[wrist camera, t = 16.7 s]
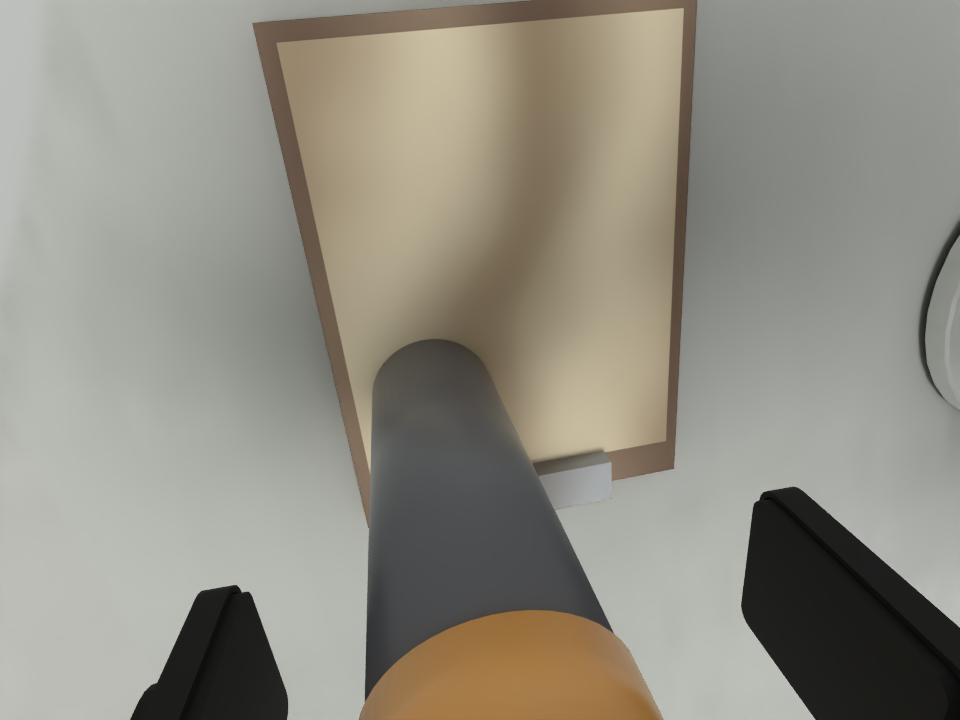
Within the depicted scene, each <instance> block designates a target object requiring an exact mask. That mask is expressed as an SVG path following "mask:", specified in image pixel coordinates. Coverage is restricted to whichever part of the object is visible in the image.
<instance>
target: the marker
mask: <svg viewBox="0 0 960 720" xmlns="http://www.w3.org/2000/svg"><path fill="white" fill-rule="evenodd" d="M359 720H664V719H663V717H662V715H661V713H660V711H659V709H658V707H657V705H656V703H655V701H654V699H653V697H652V695H651V693H650V691H649V689H648V687H647V685H646V683H645V681H644V679H643V677H642V675H641V673H640V671H639V669H638V667H637V665H636V663H635V661H634V659H633V657H632V655H631V653H630V651H629V649H628V648H627V647H626V646H625V644H624V643H623V642H622V641H621V640H620V639H619V638H618V637H617V636H616V635H615V634H614V633H613V631H612V629H611V626H610V624H609V622H608V620H607V618H606V616H605V614H604V612H603V610H602V608H601V606H600V604H599V601H598V599H597V597H596V595H595V593H594V591H593V589H592V587H591V585H590V583H589V581H588V579H587V577H586V574H585V572H584V570H583V568H582V566H581V564H580V562H579V560H578V558H577V556H576V554H575V552H574V550H573V547H572V545H571V543H570V541H569V539H568V537H567V535H566V533H565V531H564V529H563V527H562V525H561V522H560V520H559V518H558V516H557V514H556V512H555V510H554V508H553V506H552V504H551V502H550V500H549V498H548V495H547V493H546V491H545V489H544V487H543V485H542V483H541V481H540V479H539V477H538V475H537V473H536V471H535V468H534V466H533V464H532V462H531V460H530V458H529V456H528V454H527V452H526V450H525V448H524V446H523V443H522V441H521V439H520V437H519V435H518V433H517V431H516V429H515V427H514V425H513V423H512V421H511V419H510V416H509V414H508V412H507V410H506V408H505V406H504V404H503V402H502V400H501V398H500V396H499V394H498V392H497V389H496V387H495V385H494V383H493V381H492V379H491V377H490V375H489V373H488V371H487V369H486V367H485V365H484V364H483V362H482V361H481V359H480V358H479V357H478V356H477V355H476V354H475V353H474V352H472V351H471V350H470V349H468V348H466V347H465V346H463V345H461V344H458V343H456V342H452V341H449V340H443V339H427V340H421V341H417V342H414V343H411V344H408V345H406V346H404V347H402V348H401V349H399V350H398V351H396V352H395V353H394V354H392V355H391V356H390V357H389V358H388V359H387V360H386V361H385V362H384V364H383V365H382V367H381V368H380V370H379V371H378V373H377V376H376V378H375V381H374V384H373V390H372V426H371V468H370V509H369V551H368V593H367V634H366V676H365V704H364V706H363V709H362V711H361V714H360V717H359Z"/></svg>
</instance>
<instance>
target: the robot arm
mask: <svg viewBox="0 0 960 720" xmlns="http://www.w3.org/2000/svg"><path fill="white" fill-rule="evenodd" d="M925 346H926V357H927V365H928V368H929V370H930V373H931V376H932V379H933V382H934V384H935V386H936V387H937V389H938V390H939V392H940V393H941V394H942V396H943V397H944V399H945V400H946V401H947V402H949V403H950V404H951V405H953V406H954V407H955V408H957V409H958V410H959V411H960V235H959V236H958V238H957V240H956V241H955V243H954V244H953V246H952V248H951V249H950V251H949V253H948V256H947V258H946V260H945V262H944V265H943V267H942V269H941V271H940V274H939V276H938V278H937V280H936V283H935V287H934V290H933V294H932V297H931V301H930V305H929V308H928V313H927V323H926V332H925ZM741 607H742V613H743V616H744V618H745V620H746V623H747V624H748V626H749V627H750V629H751V630H752V631H753V633H754V634H755V636H756V637H757V638H758V640H759V641H760V643H761V644H762V645H763V647H764V648H765V650H766V651H767V652H768V654H769V655H770V657H771V658H772V659H773V661H774V662H775V664H776V665H777V666H778V668H779V669H780V671H781V672H782V673H783V675H784V676H785V678H786V679H787V680H788V682H789V683H790V685H791V686H792V687H793V689H794V690H795V692H796V693H797V694H798V696H799V697H800V698H801V700H802V701H803V703H804V704H805V705H806V707H807V708H808V710H809V711H810V712H811V714H812V715H813V717H814V718H815V719H816V720H960V628H959V627H958V626H957V625H956V624H955V623H954V622H953V621H951V620H950V619H949V618H948V617H947V616H946V615H945V614H943V613H942V612H941V611H940V610H939V609H938V608H937V607H935V606H934V605H933V604H932V603H931V602H930V601H928V600H927V599H926V598H925V597H924V596H923V595H922V594H920V593H919V592H918V591H917V590H916V589H915V588H914V587H912V586H911V585H910V584H909V583H908V582H907V581H906V580H904V579H903V578H902V577H901V576H900V575H899V574H897V573H896V572H895V571H894V570H893V569H892V568H891V567H889V566H888V565H887V564H886V563H885V562H884V561H883V560H881V559H880V558H879V557H878V556H877V555H876V554H875V553H873V552H872V551H871V550H870V549H869V548H868V547H866V546H865V545H864V544H863V543H862V542H861V541H860V540H858V539H857V538H856V537H855V536H854V535H853V534H852V533H850V532H849V531H848V530H847V529H846V528H845V527H844V526H842V525H841V524H840V523H839V522H838V521H837V520H835V519H834V518H833V517H832V516H831V515H830V514H829V513H827V512H826V511H825V510H824V509H823V508H822V507H821V506H819V505H818V504H817V503H816V502H815V501H814V500H812V499H811V498H810V497H809V496H808V495H807V494H806V493H804V492H803V491H802V490H800V489H799V488H797V487H789V488H783V489H778V490H772V491H767V492H763V494H762V495H761V497H760V500H759V501H757V502H755V504H754V507H753V513H752V521H751V530H750V538H749V546H748V554H747V562H746V570H745V578H744V586H743V594H742V603H741ZM287 715H288V697H287V692H286V689H285V687H284V684H283V681H282V678H281V676H280V673H279V670H278V667H277V664H276V662H275V659H274V656H273V653H272V651H271V648H270V645H269V642H268V639H267V637H266V634H265V631H264V628H263V626H262V623H261V620H260V617H259V614H258V612H257V609H256V606H255V603H254V600H253V598H252V596H251V594H250V593H249V592H243V593H242V592H241V590H240V588H239V587H238V586H237V585H233V586H227V587H221V588H216V589H210V590H204V591H201V592H200V593H199V594H198V595H197V597H196V599H195V601H194V603H193V605H192V607H191V610H190V612H189V614H188V616H187V618H186V621H185V623H184V625H183V627H182V629H181V632H180V634H179V636H178V638H177V641H176V643H175V645H174V647H173V649H172V652H171V654H170V656H169V658H168V660H167V663H166V665H165V667H164V669H163V672H162V674H161V676H160V678H159V680H158V683H156V684H153V685H151V686H150V687H149V688H148V689H147V690H146V691H145V692H144V694H143V695H142V697H141V699H140V700H139V702H138V704H137V706H136V708H135V710H134V713H133V715H132V717H131V719H130V720H287Z"/></svg>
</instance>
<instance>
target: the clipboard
mask: <svg viewBox="0 0 960 720" xmlns="http://www.w3.org/2000/svg"><path fill="white" fill-rule="evenodd" d="M696 12H697V0H532V1H520V2H508V3H495V4H483V5H470V6H458V7H445V8H433V9H421V10H408V11H396V12H383V13H371V14H359V15H346V16H334V17H321V18H309V19H296V20H284V21H272V22H259V23H252V24H253V28H254V32H255V37H256V41H257V45H258V50H259V54H260V58H261V63H262V67H263V72H264V76H265V80H266V85H267V89H268V93H269V98H270V102H271V106H272V111H273V115H274V119H275V124H276V128H277V132H278V137H279V141H280V146H281V150H282V154H283V159H284V163H285V167H286V172H287V176H288V180H289V185H290V189H291V193H292V198H293V202H294V206H295V211H296V215H297V220H298V224H299V228H300V233H301V237H302V241H303V246H304V250H305V254H306V259H307V263H308V267H309V272H310V276H311V280H312V285H313V289H314V293H315V298H316V302H317V307H318V311H319V315H320V320H321V324H322V328H323V333H324V337H325V341H326V346H327V350H328V354H329V359H330V363H331V367H332V372H333V376H334V381H335V385H336V389H337V394H338V398H339V402H340V407H341V411H342V415H343V420H344V424H345V428H346V433H347V437H348V441H349V446H350V450H351V455H352V459H353V463H354V468H355V472H356V476H357V481H358V485H359V489H360V494H361V498H362V502H363V507H364V511H365V515H366V520H367V524H368V528H369V509H370V468H371V426H372V390H373V384H374V381H375V378H376V376H377V373H378V371H379V370H380V368H381V367H382V365H383V364H384V362H385V361H386V360H387V359H388V358H389V357H390V356H391V355H392V354H394V353H395V352H396V351H398V350H399V349H401V348H402V347H404V346H406V345H408V344H411V343H414V342H417V341H421V340H427V339H443V340H449V341H452V342H456V343H458V344H461V345H463V346H465V347H466V348H468V349H470V350H471V351H472V352H474V353H475V354H476V355H477V356H478V357H479V358H480V359H481V361H482V362H483V364H484V365H485V367H486V369H487V371H488V373H489V375H490V377H491V379H492V381H493V383H494V385H495V387H496V389H497V392H498V394H499V396H500V398H501V400H502V402H503V404H504V406H505V408H506V410H507V412H508V414H509V416H510V419H511V421H512V423H513V425H514V427H515V429H516V431H517V433H518V435H519V437H520V439H521V441H522V443H523V446H524V448H525V450H526V452H527V454H528V456H529V458H530V460H531V462H532V464H533V466H534V468H535V471H536V473H537V475H538V477H539V479H540V481H541V483H542V485H543V487H544V489H545V491H546V493H547V495H548V498H549V500H550V502H551V504H552V506H553V508H554V510H556V509H561V508H566V507H571V506H576V505H581V504H586V503H591V502H596V501H601V500H606V499H611V498H612V481H613V480H618V479H624V478H629V477H634V476H639V475H644V474H649V473H654V472H660V471H665V470H670V469H674V456H675V436H676V416H677V396H678V376H679V355H680V335H681V315H682V295H683V275H684V255H685V234H686V214H687V194H688V174H689V154H690V133H691V113H692V93H693V73H694V53H695V33H696Z"/></svg>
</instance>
